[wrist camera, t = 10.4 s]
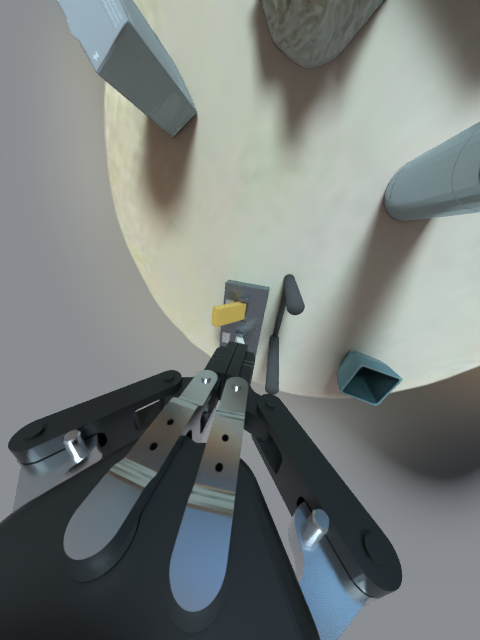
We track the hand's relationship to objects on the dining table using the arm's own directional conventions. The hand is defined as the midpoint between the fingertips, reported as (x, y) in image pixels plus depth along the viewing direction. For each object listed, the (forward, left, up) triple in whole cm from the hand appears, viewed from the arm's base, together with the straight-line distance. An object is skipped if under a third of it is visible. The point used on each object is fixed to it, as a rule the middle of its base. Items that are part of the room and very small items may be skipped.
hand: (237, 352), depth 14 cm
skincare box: (+22, -27, -32) cm, 47 cm away
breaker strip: (+3, +13, -31) cm, 34 cm away
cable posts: (-6, +8, -31) cm, 33 cm away
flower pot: (-27, +18, -32) cm, 45 cm away
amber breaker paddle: (+3, +8, -27) cm, 29 cm away
